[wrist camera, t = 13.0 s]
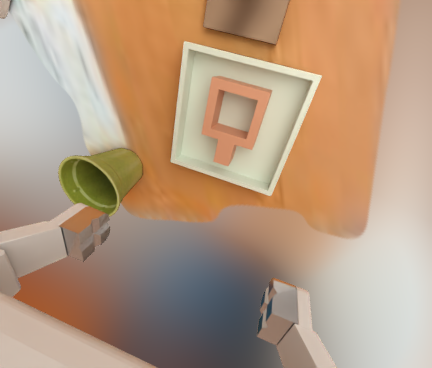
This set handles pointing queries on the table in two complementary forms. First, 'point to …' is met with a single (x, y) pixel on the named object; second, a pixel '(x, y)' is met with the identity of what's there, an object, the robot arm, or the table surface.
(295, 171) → the table surface
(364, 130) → the table surface
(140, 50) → the table surface
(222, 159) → the orange frame with handle
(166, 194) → the table surface
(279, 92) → the tray
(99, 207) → the plant pot
